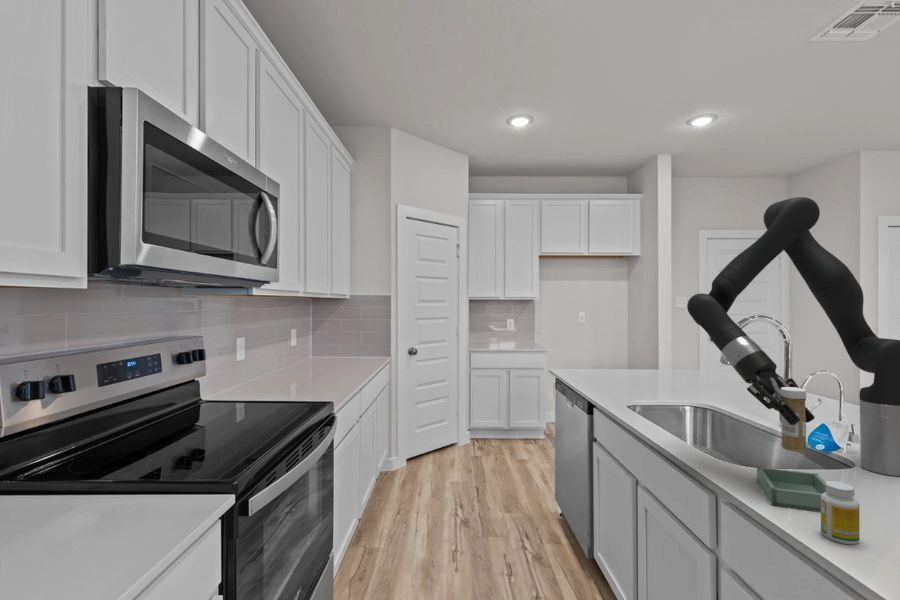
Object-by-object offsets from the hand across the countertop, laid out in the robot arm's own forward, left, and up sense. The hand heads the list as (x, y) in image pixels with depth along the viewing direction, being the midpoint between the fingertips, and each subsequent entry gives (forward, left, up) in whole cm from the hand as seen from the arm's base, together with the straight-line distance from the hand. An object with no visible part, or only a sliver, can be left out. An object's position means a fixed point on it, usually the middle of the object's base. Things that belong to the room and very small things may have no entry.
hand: (803, 421), depth 98 cm
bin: (0, -2, -17) cm, 17 cm away
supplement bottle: (+11, +12, -17) cm, 24 cm away
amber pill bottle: (0, -2, -7) cm, 7 cm away
